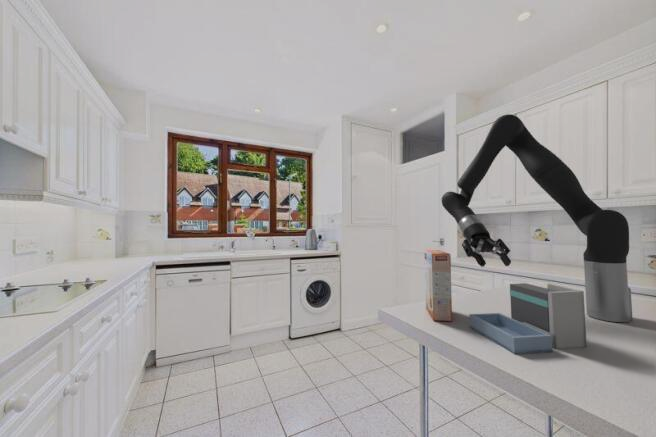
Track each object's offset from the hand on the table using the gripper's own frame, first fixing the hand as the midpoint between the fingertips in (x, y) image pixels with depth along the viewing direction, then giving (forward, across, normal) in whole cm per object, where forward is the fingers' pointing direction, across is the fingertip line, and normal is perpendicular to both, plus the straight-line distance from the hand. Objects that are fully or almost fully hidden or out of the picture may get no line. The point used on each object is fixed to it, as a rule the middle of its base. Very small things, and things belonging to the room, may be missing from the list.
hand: (496, 264), depth 87 cm
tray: (+23, -10, 0) cm, 25 cm away
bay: (+25, 0, -2) cm, 25 cm away
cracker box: (+9, -18, +14) cm, 25 cm away
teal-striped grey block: (+22, 0, +1) cm, 22 cm away
